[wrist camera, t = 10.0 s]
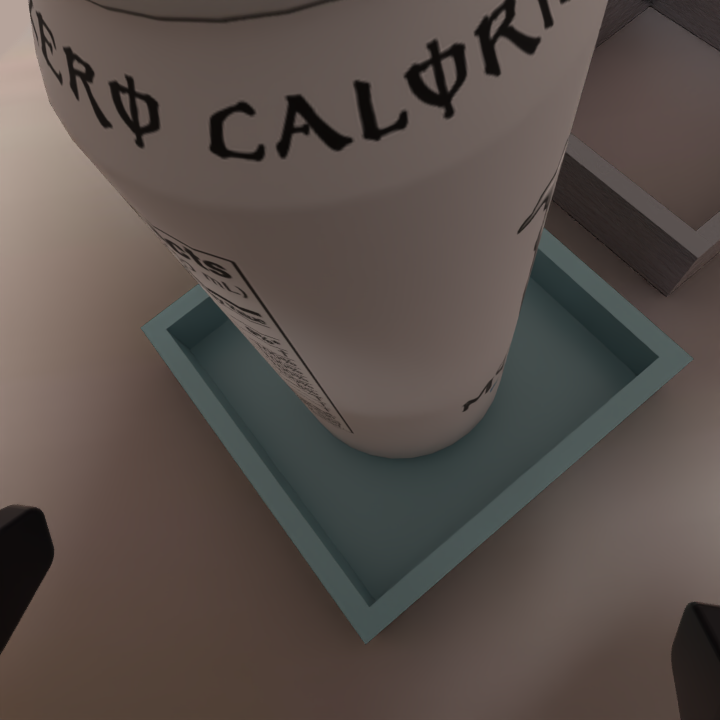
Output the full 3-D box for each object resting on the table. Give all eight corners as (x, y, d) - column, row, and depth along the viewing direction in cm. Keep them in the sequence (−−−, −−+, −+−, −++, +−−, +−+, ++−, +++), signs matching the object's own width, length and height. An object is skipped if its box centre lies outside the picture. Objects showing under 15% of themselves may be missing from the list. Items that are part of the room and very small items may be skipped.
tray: (664, 384, 18) (693, 358, 16) (376, 635, 17) (365, 644, 14) (420, 161, 22) (418, 116, 19) (172, 353, 20) (140, 327, 18)
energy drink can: (516, 450, 17) (817, -54, 3) (314, 476, 18) (-173, 141, 4) (481, 268, 19) (571, -521, 5) (301, 296, 20) (-48, -349, 6)
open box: (866, 127, 20) (923, 67, 17) (666, 296, 19) (697, 258, 16) (649, -12, 23) (672, -78, 20) (468, 128, 22) (470, 75, 19)
